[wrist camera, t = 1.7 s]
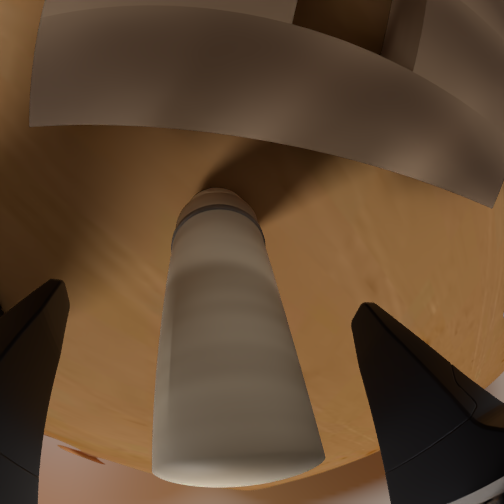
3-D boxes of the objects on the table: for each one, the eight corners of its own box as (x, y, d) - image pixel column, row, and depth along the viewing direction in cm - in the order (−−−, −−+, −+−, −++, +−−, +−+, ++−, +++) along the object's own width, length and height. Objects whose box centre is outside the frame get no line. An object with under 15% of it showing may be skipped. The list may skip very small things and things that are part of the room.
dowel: (247, 251, 14) (294, 480, 5) (175, 245, 13) (157, 485, 5) (262, 185, 12) (360, 435, 4) (181, 175, 11) (137, 447, 3)
